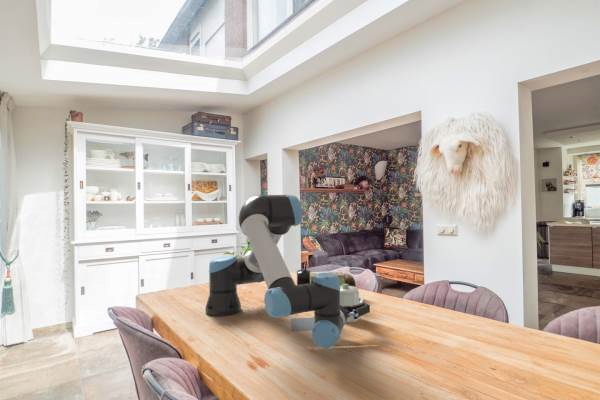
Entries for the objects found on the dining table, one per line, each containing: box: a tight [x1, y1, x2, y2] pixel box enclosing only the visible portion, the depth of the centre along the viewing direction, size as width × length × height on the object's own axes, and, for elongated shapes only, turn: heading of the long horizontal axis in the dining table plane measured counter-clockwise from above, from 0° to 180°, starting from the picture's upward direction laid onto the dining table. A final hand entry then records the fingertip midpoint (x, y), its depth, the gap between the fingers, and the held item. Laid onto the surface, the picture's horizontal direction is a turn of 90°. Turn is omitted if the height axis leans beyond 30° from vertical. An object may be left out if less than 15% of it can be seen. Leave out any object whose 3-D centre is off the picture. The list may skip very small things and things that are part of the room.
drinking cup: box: [296, 260, 312, 285], centre depth 157 cm, size 8×8×20 cm
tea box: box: [310, 270, 345, 286], centre depth 149 cm, size 15×10×15 cm, turn 92°
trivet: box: [290, 317, 315, 332], centre depth 125 cm, size 14×14×1 cm
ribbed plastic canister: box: [340, 284, 361, 323], centre depth 131 cm, size 10×10×14 cm
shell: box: [343, 273, 357, 287], centre depth 161 cm, size 11×11×12 cm
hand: (344, 300), depth 125 cm, fingers open, 13 cm apart
